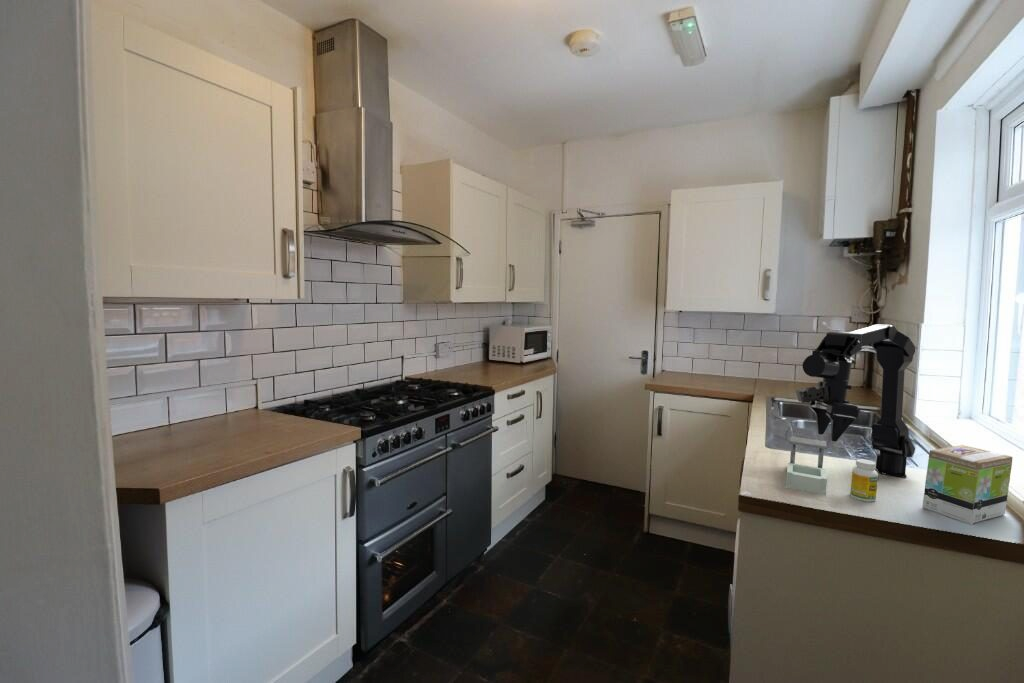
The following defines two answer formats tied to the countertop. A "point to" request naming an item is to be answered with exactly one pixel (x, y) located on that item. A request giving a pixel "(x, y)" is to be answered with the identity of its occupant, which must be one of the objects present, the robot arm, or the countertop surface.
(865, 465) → the supplement bottle
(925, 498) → the tea box
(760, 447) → the countertop surface
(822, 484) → the socket block
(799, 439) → the grey frame
